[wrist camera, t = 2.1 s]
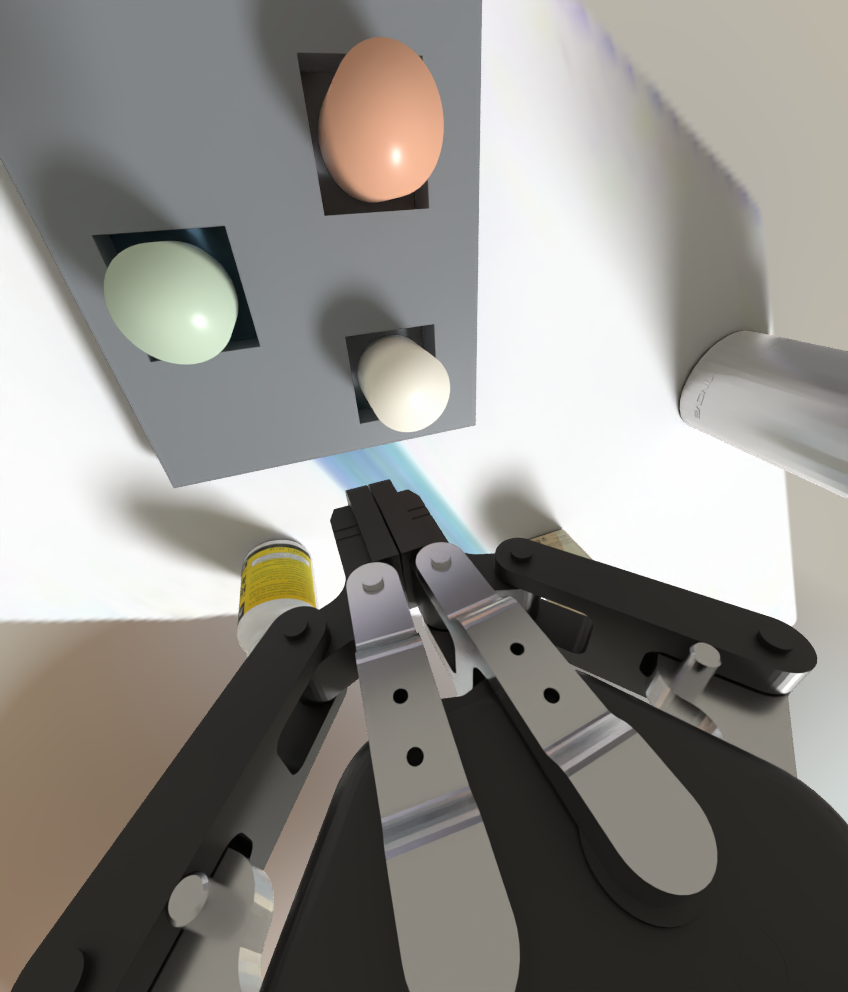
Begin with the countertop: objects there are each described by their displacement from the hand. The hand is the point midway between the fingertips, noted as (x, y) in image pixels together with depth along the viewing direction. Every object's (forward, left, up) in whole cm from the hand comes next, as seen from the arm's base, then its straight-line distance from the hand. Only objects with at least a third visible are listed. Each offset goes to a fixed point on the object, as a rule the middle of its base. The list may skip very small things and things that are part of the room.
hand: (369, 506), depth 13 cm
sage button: (+6, -5, -14) cm, 16 cm away
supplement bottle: (+7, +15, -16) cm, 22 cm away
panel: (0, -5, -15) cm, 16 cm away
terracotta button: (-4, -11, -14) cm, 18 cm away
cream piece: (-4, 0, -14) cm, 14 cm away
